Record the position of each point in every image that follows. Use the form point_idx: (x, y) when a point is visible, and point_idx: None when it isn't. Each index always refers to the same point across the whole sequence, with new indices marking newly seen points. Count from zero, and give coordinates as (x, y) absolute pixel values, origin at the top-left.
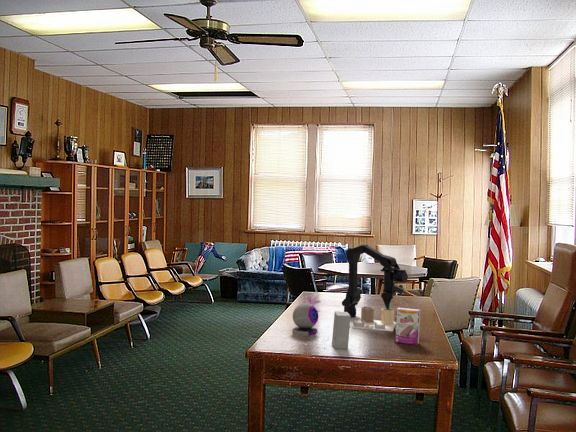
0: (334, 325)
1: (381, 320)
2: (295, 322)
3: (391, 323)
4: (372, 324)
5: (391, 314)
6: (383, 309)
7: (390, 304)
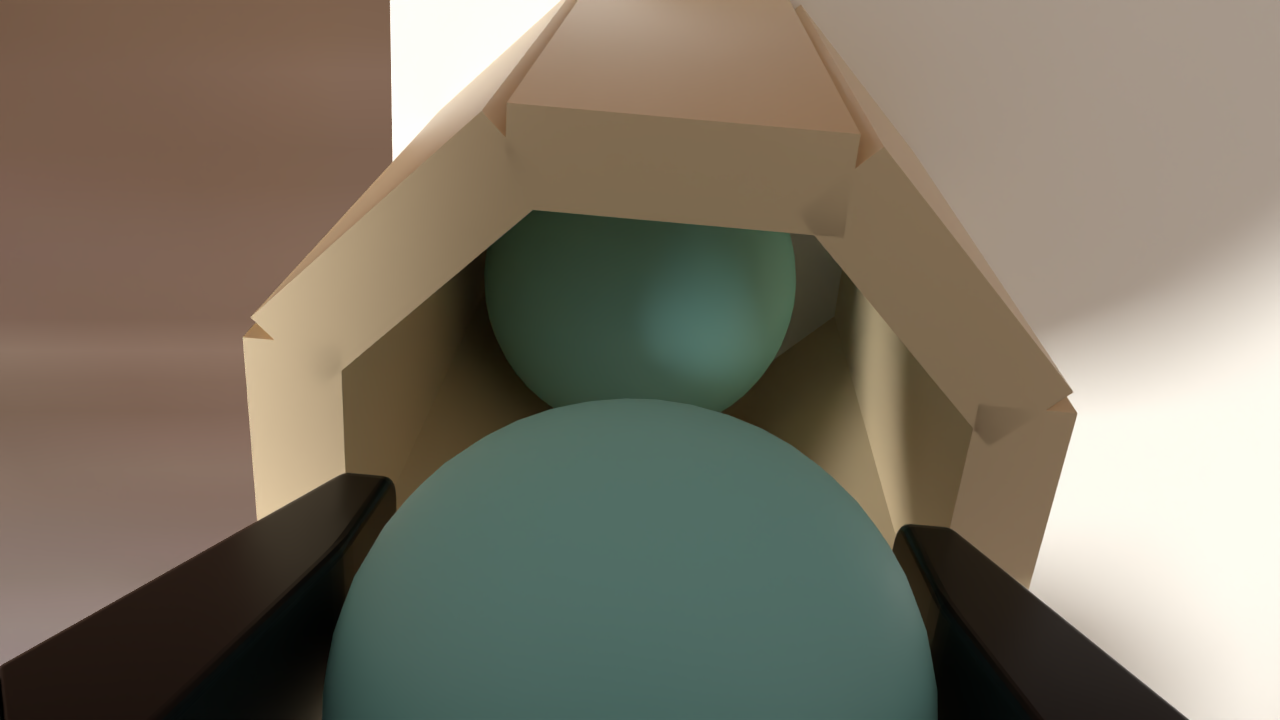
0: None
1: None
2: None
3: (861, 82)
4: None
5: (944, 208)
6: None
7: (863, 612)
